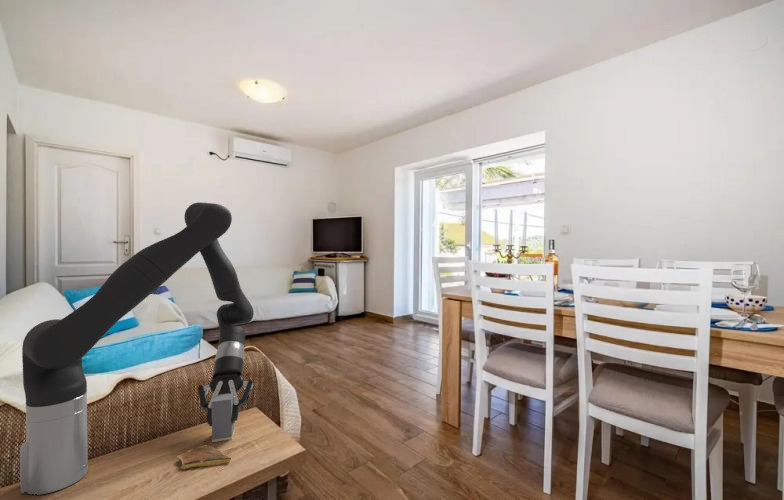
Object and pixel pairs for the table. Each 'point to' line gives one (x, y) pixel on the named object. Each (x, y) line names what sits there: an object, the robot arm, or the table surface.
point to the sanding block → (222, 417)
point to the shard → (202, 457)
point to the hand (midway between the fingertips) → (222, 423)
